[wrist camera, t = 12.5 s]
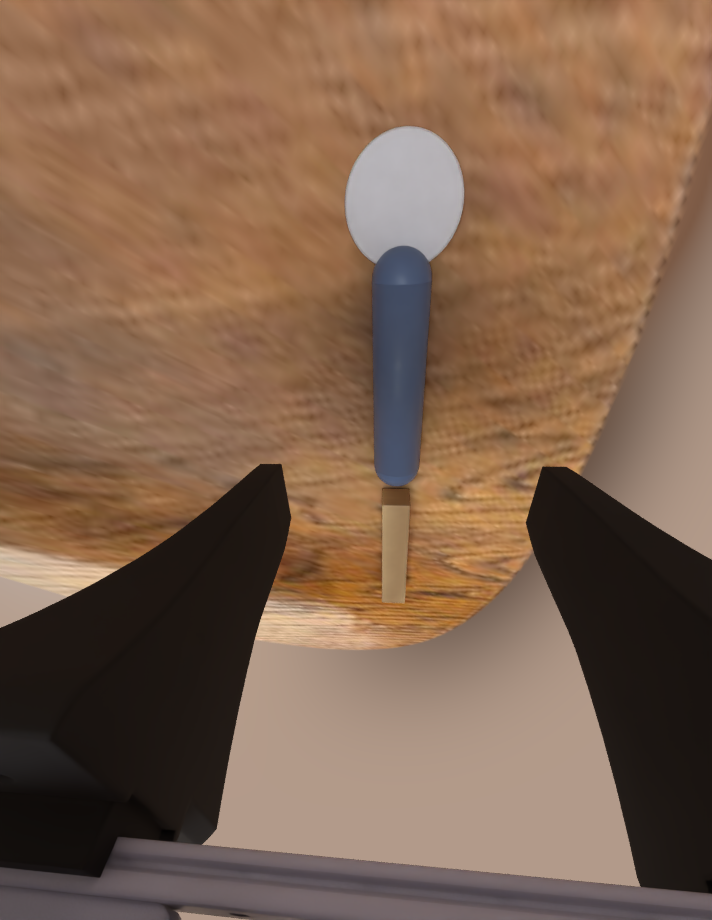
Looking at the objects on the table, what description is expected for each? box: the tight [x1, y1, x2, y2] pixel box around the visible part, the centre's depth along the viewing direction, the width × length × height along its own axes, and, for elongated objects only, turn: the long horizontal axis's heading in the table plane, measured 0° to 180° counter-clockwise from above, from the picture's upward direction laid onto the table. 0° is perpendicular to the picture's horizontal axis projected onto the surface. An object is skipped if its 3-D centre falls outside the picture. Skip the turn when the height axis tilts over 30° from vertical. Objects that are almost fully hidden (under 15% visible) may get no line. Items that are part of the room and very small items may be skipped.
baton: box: [382, 488, 410, 603], centre depth 24 cm, size 2×9×2 cm, turn 2°
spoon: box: [345, 126, 464, 486], centre depth 16 cm, size 15×4×2 cm, turn 2°
